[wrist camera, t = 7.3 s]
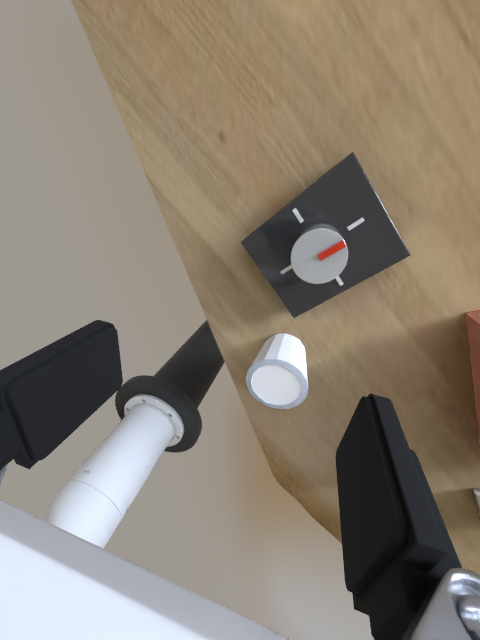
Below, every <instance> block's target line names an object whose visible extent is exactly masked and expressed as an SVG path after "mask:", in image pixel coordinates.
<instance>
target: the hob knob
mask: <svg viewBox="0 0 480 640" xmlns="http://www.w3.org/2000/svg"><path fill="white" fill-rule="evenodd" d="M347 260H348V248H347V245H346V243H345V241H344V239H343V237H342V235H341V234H340V232H339V231H338V230H337V229H336V228H334V227H333V226H331V225H328V224H315V225H312V226H310V227H308V228H307V229H305V230H304V231H303V232H302V233H301V234H300V236H299V237H298V239H297V241H296V242H295V244H294V246H293V248H292V251H291V265H292V268H293V270H294V272H295V273H296V275H297V276H298V277H299V278H301V279H302V280H304V281H306V282H308V283H312V284H322V283H326V282H329V281H331V280H333V279H335V278H336V277H337V276H339V275H340V274H341V272H342V271H343V270H344V268H345V266H346V264H347Z"/></svg>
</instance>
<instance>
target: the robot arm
mask: <svg viewBox="0 0 480 640" xmlns="http://www.w3.org/2000/svg"><path fill="white" fill-rule="evenodd" d="M122 382H123V379H122V371H121V361H120V352H119V343H118V334H117V330H116V329H115V327H114V325H113V324H111V323H108V322H105V321H101V320H96V321H94V322H92V323H90V324H88V325H86V326H84V327H82V328H80V329H79V330H76V331H74V332H73V333H71V334H69V335H67V336H65V337H63V338H61V339H59V340H57V341H56V342H53V343H52V344H50V345H48V346H46V347H44V348H42V349H40V350H38V351H36V352H34V353H33V354H31V355H29V356H27V357H25V358H23V359H21V360H19V361H17V362H15V363H13V364H11V365H10V366H8V367H6V368H4V369H2V370H0V485H1V482H2V479H3V476H4V473H5V471H6V468H7V464H8V463H9V462H10V461H12V460H13V459H14V460H15V462H16V464H19V465H21V466H23V467H25V468H28V469H30V468H31V467H32V466H33V465H34V464H35V463H36V462H38V461H39V460H42V459H44V458H45V457H47V456H48V455H49V454H50V453H51V452H52V451H53V450H54V449H55V448H56V447H58V445H60V444H61V443H62V442H63V441H64V440H65V439H66V438H67V437H68V436H69V435H70V434H71V433H73V432H74V431H75V430H76V429H77V428H78V427H79V426H80V425H81V424H82V423H83V422H84V421H85V420H86V419H88V418H89V417H90V416H91V415H92V414H93V413H94V412H95V411H96V410H97V409H98V408H99V407H100V406H101V405H102V404H103V403H105V402H106V401H107V400H108V399H109V398H110V397H111V396H112V395H113V394H114V393H115V392H116V391H117V390H119V388H120V387H121V385H122ZM124 413H125V417H124V418H123V419H122V420H121V422H120V423H119V424H118V425H117V426H116V427H115V428H114V429H113V431H112V432H111V433H110V434H109V435H108V436H107V437H106V438H105V439H104V441H103V442H102V443H101V444H100V445H99V446H98V447H97V448H96V449H95V450H94V452H93V453H92V454H91V455H90V456H89V457H88V458H87V459H86V460H85V461H84V463H83V464H82V465H81V466H80V467H79V468H78V469H77V471H76V472H75V473H74V474H73V475H72V476H71V477H70V478H69V479H68V480H67V482H66V483H65V484H64V485H63V486H62V487H61V488H60V489H59V491H58V492H57V493H56V494H55V496H54V498H53V499H52V501H51V503H50V505H49V507H48V510H47V512H46V517H45V521H44V520H41V519H39V518H37V517H35V516H33V515H31V514H29V513H26V512H24V511H22V510H20V509H18V508H16V507H14V506H11V505H9V504H7V503H5V502H3V501H1V500H0V640H291V639H289V638H287V637H285V636H283V635H281V634H280V633H277V632H275V631H274V630H271V629H269V628H268V627H266V626H264V625H262V624H260V623H258V622H256V621H254V620H252V619H250V618H247V617H245V616H243V615H241V614H239V613H237V612H235V611H233V610H231V609H229V608H227V607H224V606H222V605H220V604H218V603H216V602H214V601H212V600H210V599H208V598H206V597H204V596H201V595H199V594H197V593H195V592H193V591H191V590H189V589H187V588H185V587H183V586H181V585H178V584H177V583H174V582H172V581H170V580H168V579H166V578H164V577H162V576H160V575H158V574H156V573H153V572H151V571H149V570H147V569H145V568H143V567H141V566H139V565H137V564H135V563H132V562H130V561H128V560H126V559H124V558H122V557H120V556H118V555H116V554H113V553H111V552H109V551H107V550H105V549H104V547H105V545H106V543H107V542H108V540H109V539H110V537H111V535H112V534H113V532H114V530H115V529H116V527H117V525H118V524H119V522H120V521H121V519H122V517H123V516H124V514H125V513H126V511H127V510H128V508H129V506H130V505H131V503H132V502H133V500H134V498H135V497H136V495H137V494H138V492H139V490H140V489H141V487H142V486H143V484H144V482H145V481H146V479H147V477H148V476H149V474H150V473H151V471H152V469H153V468H154V466H155V465H156V463H157V461H158V460H159V458H160V457H161V455H162V453H163V452H164V450H165V449H166V447H167V446H173V445H175V444H177V443H178V442H179V441H180V440H181V438H182V436H183V434H184V425H183V422H182V420H181V418H180V416H179V415H178V413H177V412H176V411H175V410H174V409H173V408H172V407H171V406H170V405H169V404H168V403H166V402H165V401H163V400H161V399H159V398H157V397H155V396H151V395H146V394H140V395H135V396H133V397H132V398H131V399H130V400H129V401H128V402H127V403H126V405H125V408H124ZM336 469H337V482H338V495H339V508H340V521H341V534H342V546H343V560H344V573H345V583H346V588H347V589H348V591H350V592H352V593H353V602H354V609H355V610H358V611H360V612H362V613H364V614H367V615H369V618H370V626H371V633H372V636H373V637H374V640H480V575H478V574H476V573H474V572H473V571H470V570H467V569H463V568H462V567H461V564H460V562H459V559H458V557H457V554H456V552H455V549H454V547H453V544H452V542H451V539H450V537H449V534H448V532H447V529H446V527H445V524H444V522H443V519H442V517H441V514H440V512H439V509H438V507H437V504H436V502H435V499H434V497H433V495H432V492H431V490H430V487H429V485H428V482H427V480H426V477H425V475H424V472H423V470H422V467H421V465H420V462H419V460H418V457H417V456H416V454H415V452H414V451H413V450H412V449H410V448H409V446H408V443H407V441H406V438H405V435H404V433H403V430H402V428H401V425H400V422H399V420H398V417H397V414H396V412H395V409H394V407H393V404H392V402H391V400H390V399H388V398H385V397H381V396H377V395H373V394H369V395H368V397H364V396H363V397H362V398H361V399H360V401H359V403H358V406H357V408H356V410H355V412H354V414H353V416H352V419H351V421H350V423H349V425H348V427H347V429H346V431H345V434H344V436H343V438H342V440H341V442H340V444H339V447H338V449H337V452H336Z"/></svg>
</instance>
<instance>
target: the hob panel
mask: <svg viewBox="0 0 480 640" xmlns="http://www.w3.org/2000/svg"><path fill="white" fill-rule="evenodd" d="M315 224H328V225H331V226H333V227H334V228H336V229H337V230H338V231H339V232H340V234H341V235H342V237H343V239H344V241H345V243H346V245H347V248H348V260H347V264H346V266H345V268H344V270H343V271H342V272H341V274H340V275H339V276H337V277H336V278H335V279H333V280H331V281H329V282H326V283H322V284H312V283H308V282H306V281H304V280H302V279H301V278H299V277H298V276H297V275H296V273H295V272H294V270H293V268H292V265H291V251H292V248H293V246H294V244H295V242H296V241H297V239H298V237H299V236H300V234H301V233H302V232H303V231H304V230H305V229H307V228H308V227H310V226H312V225H315ZM241 243H242V245H243V246H244V248H245V249H246V251H247V252H248V253H249V255H250V256H251V258H252V259H253V261H254V262H255V263H256V265H257V266H258V268H259V269H260V270H261V272H262V273H263V275H264V276H265V278H266V279H267V280H268V282H269V283H270V285H271V286H272V288H273V289H274V290H275V292H276V293H277V295H278V296H279V297H280V299H281V300H282V302H283V303H284V305H285V306H286V307H287V309H288V310H289V312H290V313H291V315H292V316H293V317H294V318H295V317H297V316H299V315H300V314H302V313H304V312H306V311H308V310H310V309H312V308H313V307H315V306H317V305H319V304H321V303H323V302H324V301H326V300H328V299H330V298H332V297H334V296H336V295H337V294H339V293H341V292H343V291H345V290H347V289H349V288H350V287H352V286H354V285H356V284H358V283H360V282H362V281H363V280H365V279H367V278H369V277H371V276H373V275H375V274H376V273H378V272H380V271H382V270H384V269H386V268H388V267H389V266H391V265H393V264H395V263H397V262H399V261H400V260H402V259H404V258H406V257H408V256H410V253H409V251H408V250H407V248H406V246H405V244H404V242H403V241H402V239H401V237H400V235H399V234H398V232H397V230H396V228H395V226H394V225H393V223H392V221H391V219H390V217H389V216H388V214H387V212H386V210H385V208H384V207H383V205H382V203H381V201H380V199H379V198H378V196H377V194H376V192H375V190H374V189H373V187H372V185H371V183H370V181H369V180H368V178H367V176H366V174H365V172H364V171H363V169H362V167H361V165H360V163H359V162H358V160H357V158H356V156H355V154H354V153H353V152H352V153H351V154H350V155H348V156H347V157H346V158H345V159H343V160H342V161H341V162H340V163H338V164H337V165H336V166H335V167H333V168H332V169H331V170H330V171H328V172H327V173H326V174H325V175H324V176H322V177H321V178H320V179H319V180H317V181H316V182H315V183H314V184H312V185H311V186H310V187H309V188H307V189H306V190H305V191H304V192H302V193H301V194H300V195H299V196H297V197H296V198H295V199H294V200H292V201H291V202H290V203H289V204H287V205H286V206H285V207H284V208H282V209H281V210H280V211H279V212H277V213H276V214H275V215H274V216H272V217H271V218H270V219H269V220H267V221H266V222H265V223H264V224H262V225H261V226H260V227H259V228H257V229H256V230H255V231H254V232H252V233H251V234H250V235H249V236H247V237H246V238H245V239H244V240H242V241H241Z"/></svg>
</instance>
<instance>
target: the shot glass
mask: <svg viewBox="0 0 480 640" xmlns="http://www.w3.org/2000/svg"><path fill="white" fill-rule="evenodd" d="M246 383H247V387H248V390H249V391H250V393H251V394H252V395H253V397H254V398H255V399H256V400H258V401H259V402H261V403H262V404H264V405H266V406H269V407H272V408H275V409H289V408H292V407H295V406H298V405H299V404H300V403H301V402H302V401H304V400H305V398H306V395H307V393H308V378H307V365H306V353H305V347H304V346H303V344H302V343H301V341H300V340H299V339H297V338H296V337H294V336H293V335H289V334H285V333H283V334H275V335H273V336H271V337H269V338H268V340H267V341H266V342H265V343H264V345H263V347H262V348H261V350H260V352H259V353H258V355H257V357H256V358H255V360H254V362H253V363H252V365H251V367H250V368H249V370H248V372H247V377H246Z"/></svg>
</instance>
